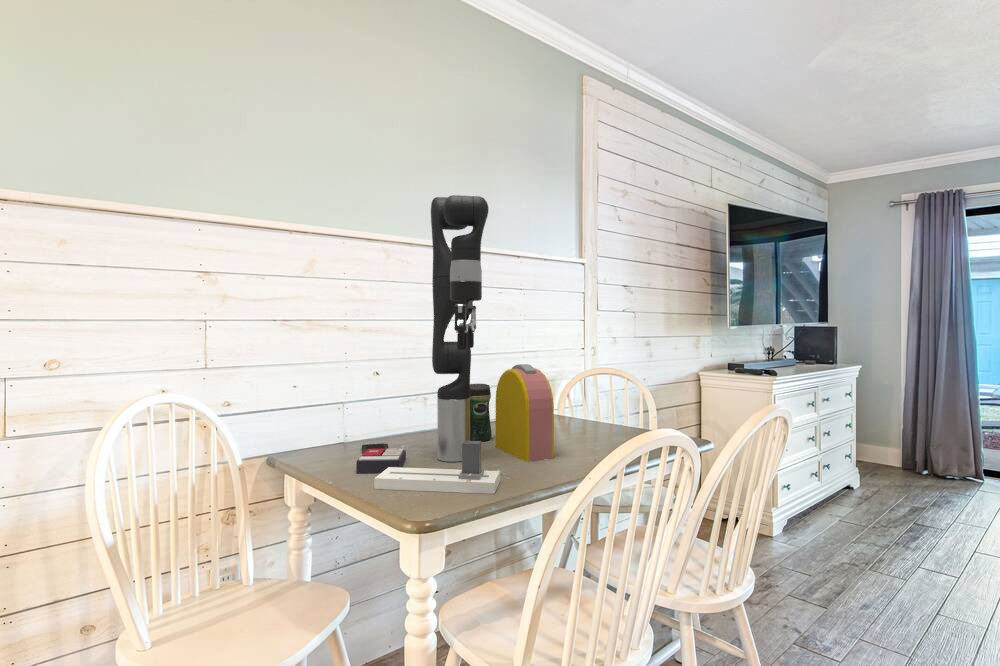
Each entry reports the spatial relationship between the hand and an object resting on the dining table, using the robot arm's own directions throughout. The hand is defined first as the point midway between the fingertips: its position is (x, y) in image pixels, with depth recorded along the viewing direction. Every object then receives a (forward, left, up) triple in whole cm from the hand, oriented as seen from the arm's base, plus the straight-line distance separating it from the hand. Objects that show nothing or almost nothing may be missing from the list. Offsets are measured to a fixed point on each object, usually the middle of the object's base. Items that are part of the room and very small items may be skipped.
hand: (465, 348), depth 130 cm
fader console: (+2, -6, -32) cm, 33 cm away
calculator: (-13, -25, -33) cm, 44 cm away
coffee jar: (-50, -6, -33) cm, 60 cm away
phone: (-29, -33, -33) cm, 55 cm away
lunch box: (-34, +11, -33) cm, 48 cm away
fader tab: (+2, +2, -30) cm, 30 cm away
